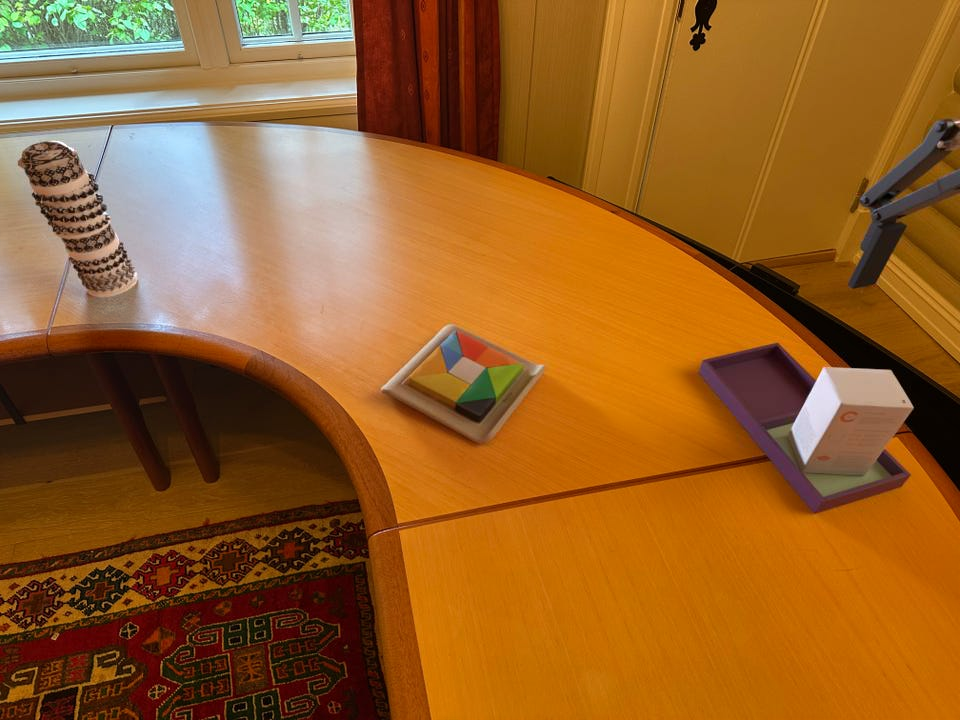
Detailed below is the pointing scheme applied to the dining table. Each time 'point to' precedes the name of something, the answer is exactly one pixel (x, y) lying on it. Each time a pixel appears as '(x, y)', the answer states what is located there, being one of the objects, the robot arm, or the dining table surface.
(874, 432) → the small box
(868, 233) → the robot arm
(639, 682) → the dining table surface
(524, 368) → the wooden puzzle
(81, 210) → the decorative candle
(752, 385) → the purple divided tray
